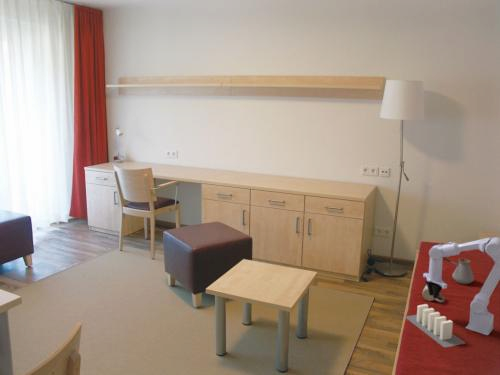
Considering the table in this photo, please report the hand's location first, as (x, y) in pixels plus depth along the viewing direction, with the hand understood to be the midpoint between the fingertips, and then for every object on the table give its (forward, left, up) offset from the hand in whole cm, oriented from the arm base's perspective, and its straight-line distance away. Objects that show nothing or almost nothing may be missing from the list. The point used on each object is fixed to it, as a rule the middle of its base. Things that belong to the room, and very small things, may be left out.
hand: (433, 296), depth 210 cm
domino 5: (-12, +17, -10) cm, 23 cm away
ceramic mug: (+7, -18, -11) cm, 22 cm away
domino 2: (-2, +11, -10) cm, 15 cm away
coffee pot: (+7, -49, -11) cm, 51 cm away
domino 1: (+2, +9, -10) cm, 13 cm away
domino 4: (-9, +15, -10) cm, 20 cm away
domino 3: (-5, +13, -10) cm, 17 cm away
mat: (-5, +13, -10) cm, 17 cm away
